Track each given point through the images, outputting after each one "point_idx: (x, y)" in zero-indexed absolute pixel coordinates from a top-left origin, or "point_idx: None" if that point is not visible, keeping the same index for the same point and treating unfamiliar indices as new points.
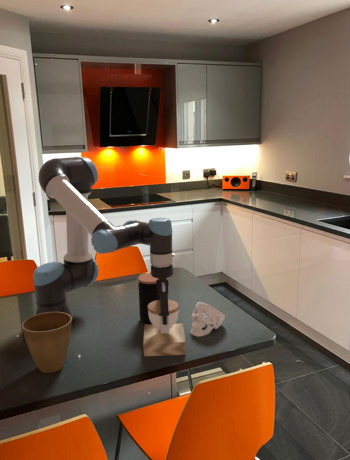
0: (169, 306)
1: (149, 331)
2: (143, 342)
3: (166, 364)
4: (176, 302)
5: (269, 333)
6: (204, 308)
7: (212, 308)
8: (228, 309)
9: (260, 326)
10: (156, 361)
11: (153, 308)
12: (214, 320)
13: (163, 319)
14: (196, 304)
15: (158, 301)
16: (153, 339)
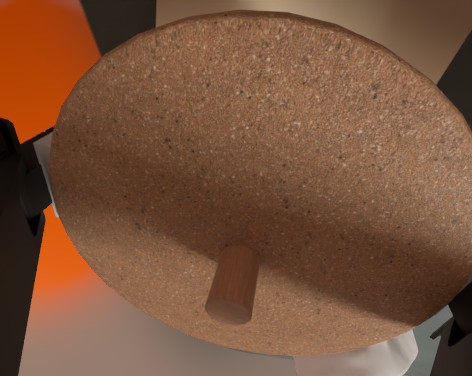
0: (175, 288)
1: (340, 16)
2: None
3: (106, 48)
4: (263, 352)
5: (234, 349)
6: (310, 361)
7: (296, 374)
8: (424, 364)
9: (275, 356)
10: (133, 2)
11: (146, 110)
12: None
13: (32, 144)
14: (387, 362)
15: (395, 255)
16: None
